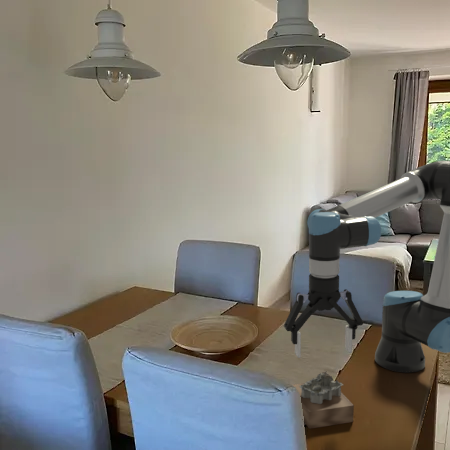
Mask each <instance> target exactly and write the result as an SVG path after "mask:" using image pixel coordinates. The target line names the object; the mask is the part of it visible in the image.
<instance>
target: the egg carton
mask: <svg viewBox="0 0 450 450" xmlns="http://www.w3.org/2000/svg"><path fill="white" fill-rule="evenodd" d="M303 383H304V384H303V385H300V388H301V389H302V393H301V394H302V395H301V396H302V397H303V398H309V399H311V401H310V402H312V403H317V404H322V401H323V400H324V399H326V400H331V399H332V396H340V395H341V392H342V386H344V384H343V383H342V382H339V381H338V379H336V380H335V381H334V379H333V377H332V375H331V374H329V373H328V372H327V371H322V372H321V373H320V372H319V374H317V376H316V377H312V378H311V379H310V380H307V381H306V382H303Z"/></svg>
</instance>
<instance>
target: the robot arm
mask: <svg viewBox="0 0 450 450" xmlns="http://www.w3.org/2000/svg"><path fill="white" fill-rule="evenodd" d="M425 200H439V201H440V204H439V207H440V208H441V210H442V211H443V216H442V222H441V227H440V231H439V237H438V240H437V241H438V242H437V247H436V252H435V256H434V261H433V265H432V270H431V276H430V280H429V286H428V289H427V290H428V291H427V293H426V294H423V293H422V292H420V291H419V292H418V291H414V290H394V291H389V292H387V293H385V294H384V297H383V300H382V301H383V303H382V315H381V316H382V318H381V337H380V340H379V342H378V345H377V347H376V350H375V352H374V353H375V354H374V361H375V363H376V364H377V365H378V366H379V367H382V368H384V369H385V370H388V371H392V372H398V373H406V374H407V373H417V372H420V371H422V370H424V369H425V367H426V357H425V353H424V350H423V346H422V344H423V345H425V346H427V347H428V348H429V349H432V350H435V351H438V352H440V353H445V354H447V353H448V354H449V353H450V160H438V161H433V162H431V163H426V164H424V165H421V166H418V167H416V168H414V169H411V170H409V171H407V172H404V173H403V174H402V175H401V176H400V178H398V179H396V180H394V181H392V182H390V183H387V184H385V185H383V186H381V187H378V188H376V189H374V190H371V191H369V192H367V193H364V194H362V195H360V196H357V197H355V198H352V199H351V200H347V201H346V202H343V203H342V204H341V203H340V204H339V205H336V206H333V207H331V208H328V209H324V208H323V209H322V208H321V209H319V208H318V209H315V210H313V211H311V213H309V216H308V218H307V223H306V224H307V228H308V257H309V258H308V273H309V275H308V293H307V294H306V293H301V292H297V293H296V297H295V302H294V303H293V306H292V308H291V310H290V312H289V314H288V316H287V317H286V320H285V323H284V325H283V327H284V328H285V330H286V331H287V332H291V333H290V335H291V337H290V338H291V339H290V341H291V343H292V345H294V355H296V357H297V358H302V355H301V353H302V351H301V350H302V347H301V345H302V344H301V342H302V337H301V336H302V333H301V331H300V329H301V328H302V327H303V326H304V324H306V322H307V321H308V320H309V319H310V318H311V316H312V315H313V314H315V313H316V311H319V312H322V311H332V310H333V309H335V311H336V312H337V313H338V314H339V315H340V316H341V318H343V320H344V322H346V323H347V325H345V334H344V335H345V339H344V341H345V342H344V347H345V348H344V349H345V350H346V352H347V353H348V354H353V353H352V352H353V340H355V339H356V330H357V329H358V326H363V325H364V322H363V320H362V319H363V318H362V317H361V315H360V314H359V311H358V309H357V308H356V305H355V303H354V302H353V298H352V292H351V291H350V290H348V289H344V290H343V291H340V275H339V274H340V259H341V257H340V256H341V250H345V249H352V248H357V247H358V248H359V247H360V248H361V247H367V246H371V245H375V244H377V243H378V242H379V241H380V239H381V237H382V226H381V224H380V222H379V220H378V219H377V218H378V217H380V216H382V215H384V214H387V213H389V212H392V211H393V210H395V209H398V208H400V207H402V206H405V205H407V204H409V203H415V204H416V203H420V202H422V201H425ZM341 298H342V299H343V300H344V301H345V304H346V306H347V307H348V310H349V312H350V313H351V315H352V318H353V319H354V320H352V319H351V317H349V315H348V314H347V313H346V312H345V310H343V309H342V308H341V306H340V304H338V302H339V300H340V299H341ZM307 300H308V301H309V302H308V303H307V305H306V306H305V308H304V310H303V311H302V312H301V310H302V308H303V305H304V304H305V303H306V301H307ZM300 312H301V313H300ZM298 315H299V316H298Z"/></svg>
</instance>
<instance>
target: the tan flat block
mask: <svg viewBox="0 0 450 450" xmlns="http://www.w3.org/2000/svg"><path fill="white" fill-rule="evenodd" d="M304 383H305V382H301V383H296V384H292V385H293V386H294V387H296V389H297V390H298V392H299V394H300V397H301V403H302V409H303V416H304V421H303V422H304V424H305V426H306V427H307V428H308V429H316V428H323V427H328V426H335V425H341V424H347V423H348V424H349V423H353V422H354V410H355V409H354V408H355V405H354V404H353V403H352V402H351V400H349V399H348V397H346V395H344V393H343V392H342V391H341V395H340V396H332V399H331V400H326V399H324V400H323V401H322V404H317V403H312V402H310V401H311V399H309V398H303V397H302V396H301V395H302V394H301V393H302V389H301V388H300V385H303V384H304Z"/></svg>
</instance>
